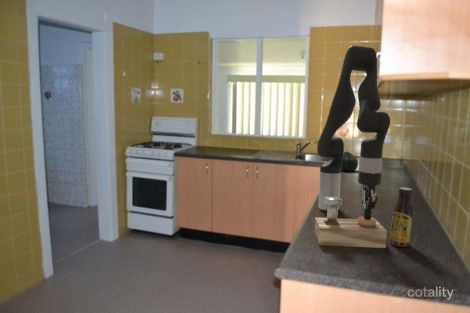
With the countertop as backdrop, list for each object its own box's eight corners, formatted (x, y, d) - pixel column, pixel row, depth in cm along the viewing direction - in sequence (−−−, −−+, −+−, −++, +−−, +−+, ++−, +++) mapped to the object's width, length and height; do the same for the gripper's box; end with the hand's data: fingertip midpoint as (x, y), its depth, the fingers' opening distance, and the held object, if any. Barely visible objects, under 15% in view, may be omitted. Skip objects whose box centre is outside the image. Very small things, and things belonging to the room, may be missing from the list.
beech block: (314, 233, 138) (315, 217, 137) (375, 235, 137) (376, 219, 136) (319, 245, 126) (320, 228, 126) (385, 247, 125) (386, 230, 124)
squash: (350, 166, 261) (356, 149, 267) (331, 164, 271) (337, 148, 277) (356, 177, 270) (362, 160, 276) (337, 175, 280) (344, 159, 286)
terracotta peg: (354, 237, 134) (356, 216, 133) (371, 237, 134) (373, 216, 133) (359, 243, 128) (360, 221, 127) (376, 244, 128) (378, 221, 127)
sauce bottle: (386, 244, 128) (390, 188, 126) (393, 239, 133) (398, 185, 130) (405, 249, 124) (410, 191, 121) (412, 244, 128) (417, 188, 125)
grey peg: (322, 217, 134) (323, 196, 133) (339, 218, 134) (340, 196, 133) (324, 222, 128) (325, 200, 127) (342, 223, 128) (343, 201, 127)
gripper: (354, 166, 134) (351, 213, 137) (364, 173, 121) (361, 224, 124) (375, 167, 134) (372, 213, 136) (387, 174, 121) (384, 225, 123)
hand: (367, 218), depth 130 cm, fingers closed
